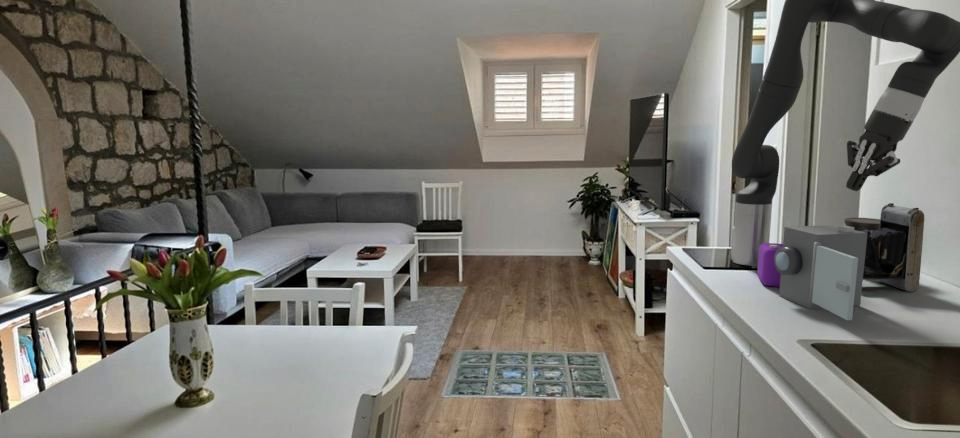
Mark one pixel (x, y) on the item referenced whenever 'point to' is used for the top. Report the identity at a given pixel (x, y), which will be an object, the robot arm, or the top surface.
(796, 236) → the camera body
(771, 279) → the toy camera
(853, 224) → the coffee can
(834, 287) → the side door
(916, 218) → the vintage camera
